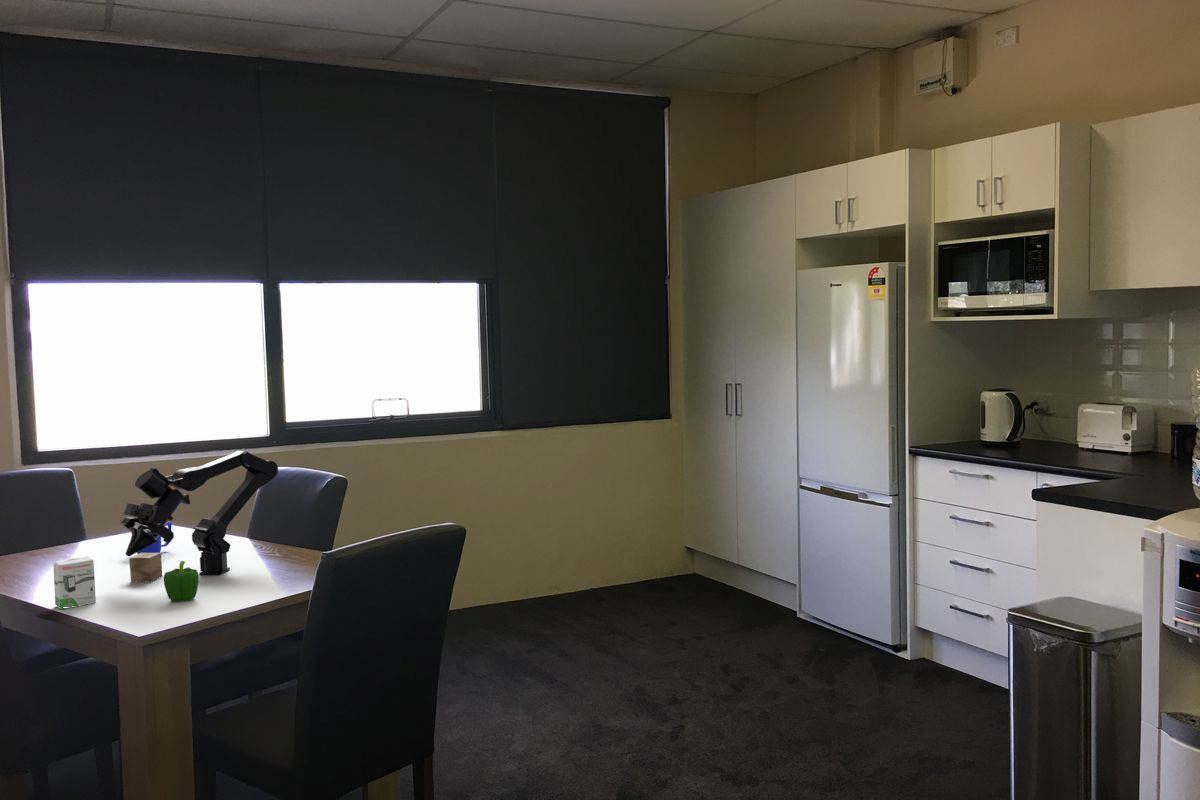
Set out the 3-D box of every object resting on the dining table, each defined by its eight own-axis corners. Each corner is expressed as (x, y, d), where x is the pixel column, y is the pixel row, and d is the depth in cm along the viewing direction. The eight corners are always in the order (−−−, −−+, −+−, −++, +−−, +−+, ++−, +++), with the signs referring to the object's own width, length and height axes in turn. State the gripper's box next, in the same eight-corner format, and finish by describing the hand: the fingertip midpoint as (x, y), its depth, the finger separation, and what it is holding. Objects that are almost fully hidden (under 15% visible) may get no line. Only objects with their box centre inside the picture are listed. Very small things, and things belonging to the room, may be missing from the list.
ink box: (60, 610, 247) (57, 564, 246) (54, 606, 250) (52, 561, 249) (96, 603, 253) (94, 558, 252) (91, 599, 256) (88, 555, 255)
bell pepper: (187, 605, 249) (185, 567, 248) (159, 604, 251) (156, 566, 250) (206, 595, 257) (204, 559, 257) (178, 595, 259) (176, 558, 258)
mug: (179, 551, 310) (178, 520, 309) (144, 559, 300) (143, 527, 299) (164, 548, 315) (162, 518, 314) (129, 556, 305) (127, 525, 304)
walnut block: (162, 576, 279) (161, 552, 278) (151, 582, 273) (149, 557, 272) (142, 576, 279) (141, 552, 279) (130, 582, 273) (129, 557, 273)
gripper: (125, 488, 270) (87, 534, 262) (160, 494, 259) (121, 543, 251) (154, 511, 277) (118, 557, 269) (189, 518, 266) (153, 566, 258)
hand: (127, 555), depth 262 cm, fingers closed
